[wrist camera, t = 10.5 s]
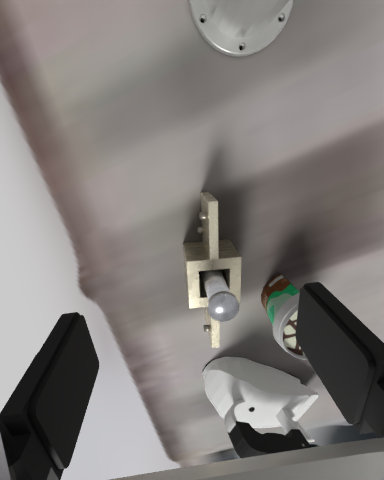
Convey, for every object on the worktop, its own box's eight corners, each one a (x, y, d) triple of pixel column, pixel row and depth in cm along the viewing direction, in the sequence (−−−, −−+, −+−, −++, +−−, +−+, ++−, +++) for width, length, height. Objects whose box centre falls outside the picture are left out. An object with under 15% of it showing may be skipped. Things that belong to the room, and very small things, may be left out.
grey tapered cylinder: (195, 252, 40) (207, 296, 28) (217, 250, 40) (239, 293, 28) (196, 272, 41) (208, 322, 29) (217, 270, 42) (238, 319, 30)
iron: (282, 410, 57) (320, 495, 43) (191, 385, 51) (201, 474, 37) (309, 378, 54) (359, 459, 40) (216, 348, 48) (237, 429, 34)
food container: (246, 280, 43) (268, 316, 33) (278, 266, 42) (309, 299, 33) (265, 329, 47) (290, 373, 38) (294, 317, 47) (326, 358, 38)
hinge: (179, 193, 36) (182, 203, 30) (229, 190, 37) (242, 199, 30) (188, 320, 45) (192, 350, 38) (228, 316, 45) (238, 344, 39)
